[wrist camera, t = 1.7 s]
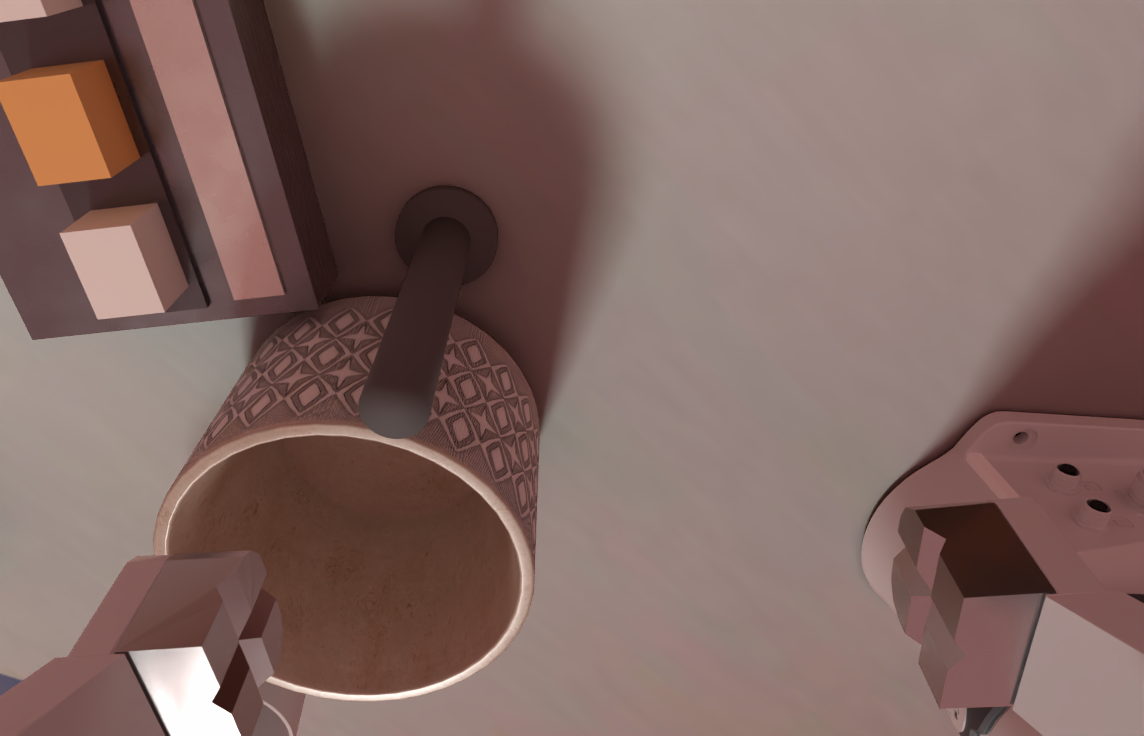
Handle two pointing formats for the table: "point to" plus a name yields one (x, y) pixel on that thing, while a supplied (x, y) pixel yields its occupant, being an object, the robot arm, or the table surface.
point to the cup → (278, 711)
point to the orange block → (68, 122)
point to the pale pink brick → (125, 260)
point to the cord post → (425, 305)
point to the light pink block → (34, 8)
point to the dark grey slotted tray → (171, 165)
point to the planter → (371, 507)
